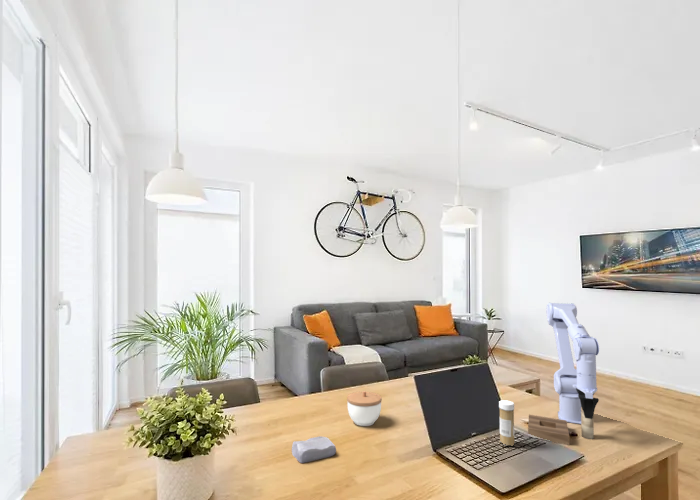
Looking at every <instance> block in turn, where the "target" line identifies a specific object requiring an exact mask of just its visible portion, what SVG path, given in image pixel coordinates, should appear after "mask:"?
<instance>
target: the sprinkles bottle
mask: <svg viewBox="0 0 700 500" xmlns="http://www.w3.org/2000/svg"><path fill="white" fill-rule="evenodd" d="M498 408H499V442H500V441H501V442H502V443H503V444H506V445H511V446H513V445H514V443H515V423H514V422H515V416H514V415H515V414H514V413H515V412H514V411H515V403H514V401H512V400H511V401H510V400H505V399H502V400H500V401H498Z"/></svg>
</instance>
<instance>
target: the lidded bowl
mask: <svg viewBox="0 0 700 500" xmlns="http://www.w3.org/2000/svg"><path fill="white" fill-rule="evenodd" d="M346 398H347V399H346V400H347V412H348V415H349V417H350V419H351V420H352V421H353V423H354V424H355V425H357V426H358V427H359V426H360V427H370V426H373V425H374V424H375V422H376V421H377V420H378V418H379V417H380V415H381V410H382V396H381V395H380V394H379V393H376V392H371V391H366V390H363V391H356V392H352V393H349V394H348V395H347V396H346Z"/></svg>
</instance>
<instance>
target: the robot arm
mask: <svg viewBox="0 0 700 500" xmlns="http://www.w3.org/2000/svg"><path fill="white" fill-rule="evenodd" d="M577 316H578V309H577V305H576V304H575V303H563V302H562V303H559V302H548V303H547V304H546V319H547V323H548V325H549V326H551V327H552V329H553V333H554V338H555V344H556V349H557V357H558V362H559V369H557V370H556V371H555V372H554V374H553V388H554V390H555V392H556V394H558V395H559V396H558V397H559V398H558V399H559V400H558V403H559V405H558V406H559V410H558V411H557V417H558V419H561V420H566V422H567V423H572V424H578V425H581V411H583V412H584V416H585V418H589V419H592V418H593V419H594V413H595V409H596V406H597V404H598V403H599V400H600V399H599V398H598V397H594V395H595V393H596V392H598V387H597V386H598V385H597V356H598V355H599V354H600V353H599V352H600V346H599V345H600V344H599V341H598V340H597V338H596V337H593V336H590V334H589V333H588V330H587V329H586V328H585V326H584V325H583V324H581V323H579V321H578V319H577ZM570 339H571V341H572V348H573V353H574V358H573V353H572V348H571V342H570ZM574 359H575V360H576V362H575V364H576V367H575V364H574Z"/></svg>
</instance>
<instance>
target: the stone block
mask: <svg viewBox="0 0 700 500" xmlns="http://www.w3.org/2000/svg"><path fill="white" fill-rule="evenodd" d="M336 452H337V448H336V445H335V444H334V443H333V442H332V440H330V438H328V437H326V436H319V435H318V436H315V437H310V438H308V439H306V440H297V441H295V440H294V441H293V442H292V446H291V455H292V456H293V457H294V458H295V459H296V461H298V462H299V463H300V464H306V463H309V462H313V461H317V460H321V459H327V458H330V457H333V456H335V454H336Z"/></svg>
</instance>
